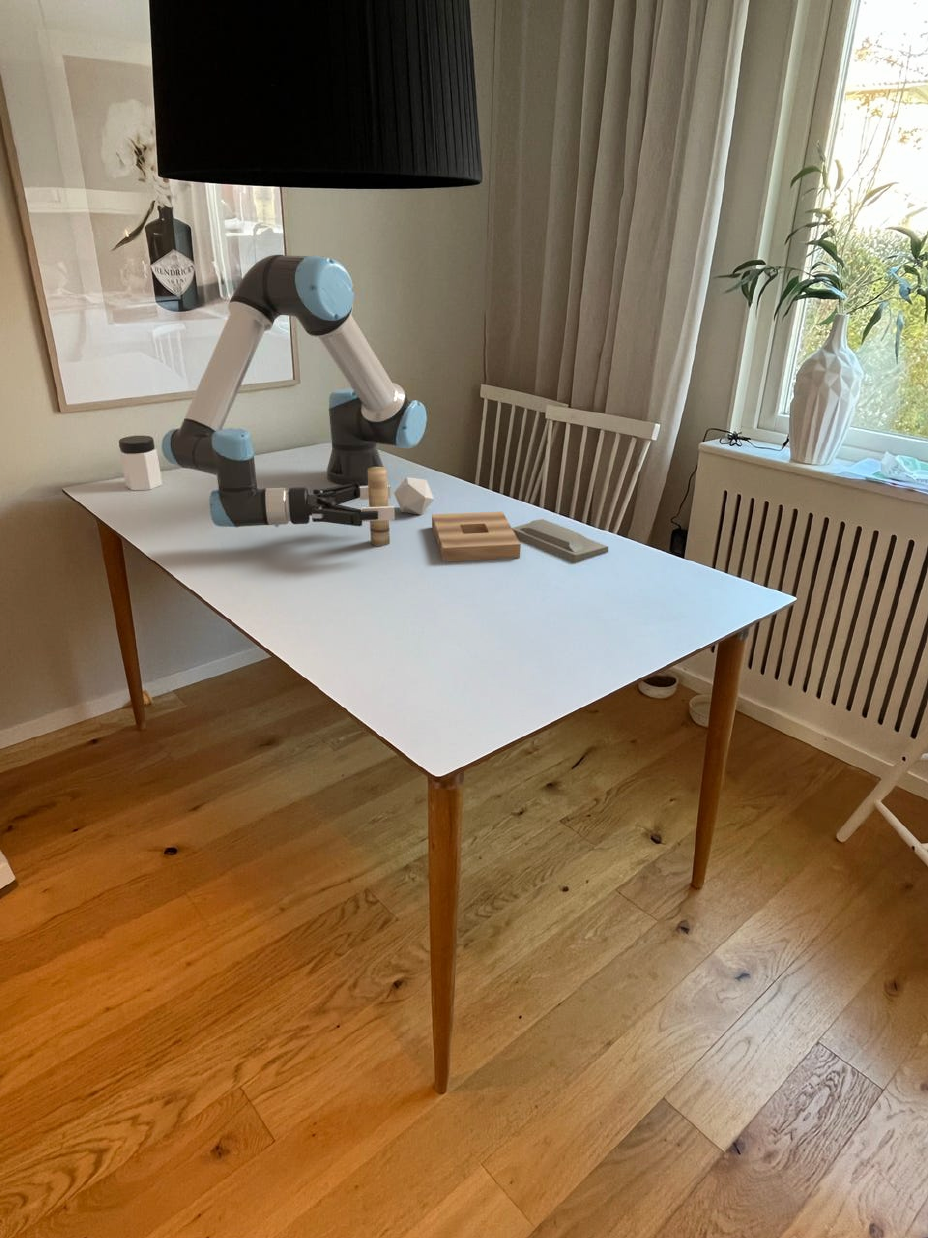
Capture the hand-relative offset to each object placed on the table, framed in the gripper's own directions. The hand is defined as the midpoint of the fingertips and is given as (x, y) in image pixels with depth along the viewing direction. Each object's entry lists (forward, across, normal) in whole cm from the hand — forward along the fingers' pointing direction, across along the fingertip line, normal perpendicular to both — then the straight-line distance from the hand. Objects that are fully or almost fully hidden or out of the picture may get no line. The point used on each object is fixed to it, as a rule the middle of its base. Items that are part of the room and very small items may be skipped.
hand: (392, 502), depth 166 cm
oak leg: (-3, 0, -9) cm, 9 cm away
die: (+6, -19, -9) cm, 22 cm away
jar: (-61, -47, -9) cm, 77 cm away
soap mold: (+35, +5, -10) cm, 36 cm away
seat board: (+17, +2, -9) cm, 19 cm away
